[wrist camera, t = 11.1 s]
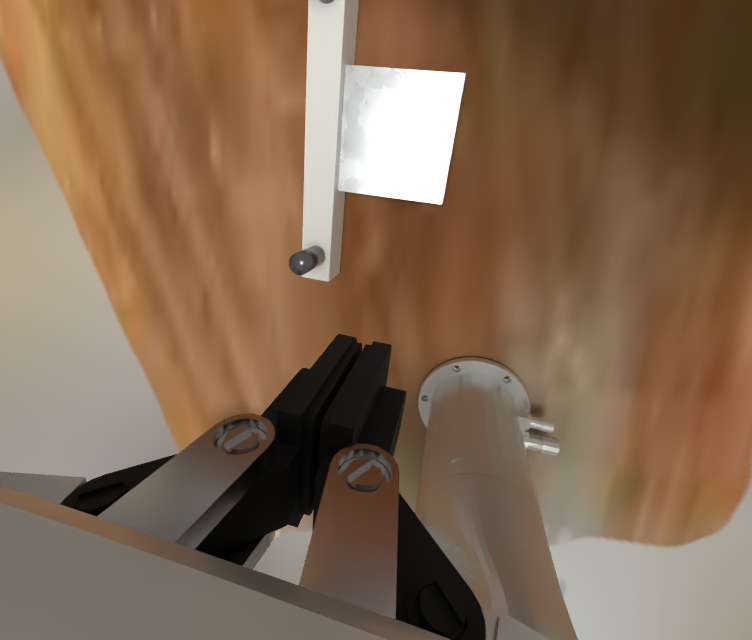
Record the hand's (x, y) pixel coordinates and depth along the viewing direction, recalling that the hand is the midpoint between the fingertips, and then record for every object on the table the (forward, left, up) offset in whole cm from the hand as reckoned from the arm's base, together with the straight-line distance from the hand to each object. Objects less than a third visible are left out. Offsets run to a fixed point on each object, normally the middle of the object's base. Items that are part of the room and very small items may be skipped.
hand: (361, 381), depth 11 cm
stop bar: (+11, -8, -27) cm, 30 cm away
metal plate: (+5, -9, -28) cm, 29 cm away
